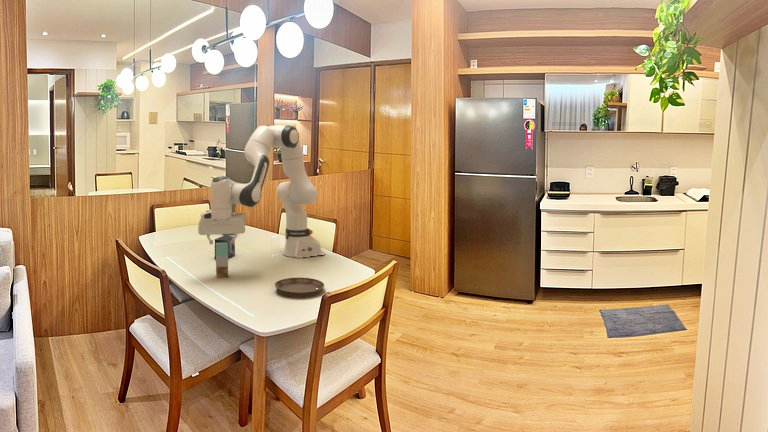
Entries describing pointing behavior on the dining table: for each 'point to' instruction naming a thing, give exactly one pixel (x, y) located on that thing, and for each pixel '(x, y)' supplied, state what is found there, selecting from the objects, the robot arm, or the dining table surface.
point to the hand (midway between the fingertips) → (222, 243)
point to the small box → (230, 245)
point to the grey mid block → (221, 261)
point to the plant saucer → (299, 287)
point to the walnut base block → (221, 272)
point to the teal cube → (222, 249)
